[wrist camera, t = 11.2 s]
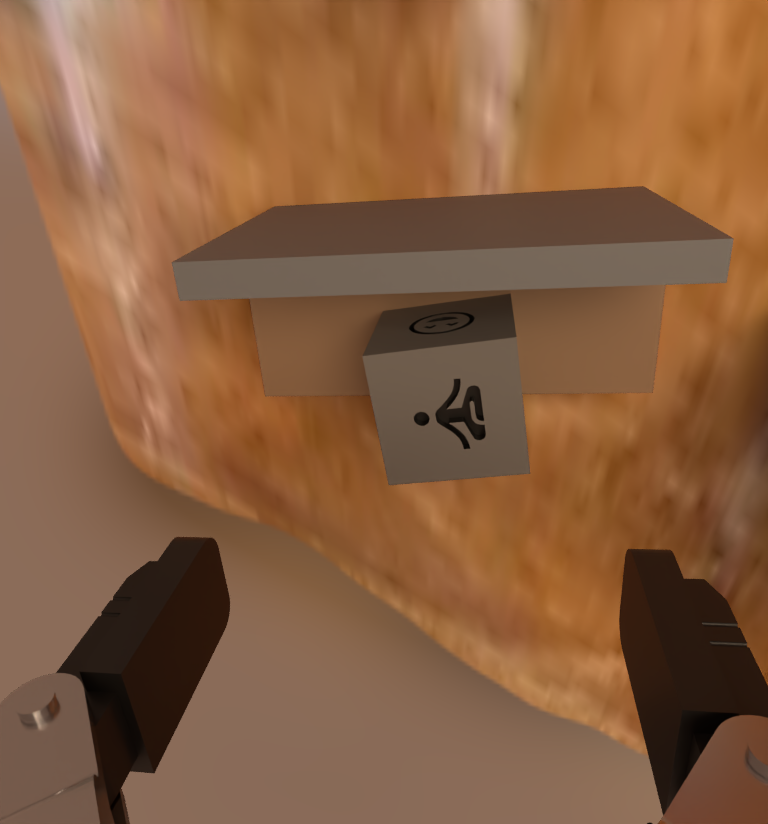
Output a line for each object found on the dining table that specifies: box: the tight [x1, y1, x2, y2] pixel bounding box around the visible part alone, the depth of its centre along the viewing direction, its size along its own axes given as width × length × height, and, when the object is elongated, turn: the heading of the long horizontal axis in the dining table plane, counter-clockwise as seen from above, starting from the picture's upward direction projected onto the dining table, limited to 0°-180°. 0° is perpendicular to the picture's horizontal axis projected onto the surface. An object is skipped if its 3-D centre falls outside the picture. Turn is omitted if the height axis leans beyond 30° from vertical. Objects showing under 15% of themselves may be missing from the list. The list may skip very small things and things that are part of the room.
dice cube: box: [362, 294, 530, 485], centre depth 24 cm, size 5×5×5 cm
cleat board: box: [172, 186, 734, 396], centre depth 25 cm, size 16×7×11 cm, turn 94°
